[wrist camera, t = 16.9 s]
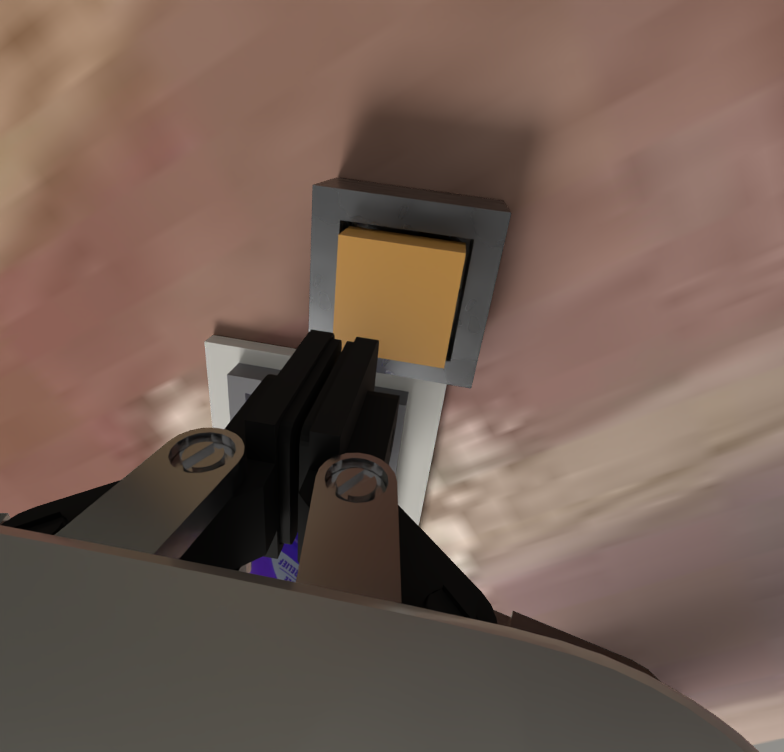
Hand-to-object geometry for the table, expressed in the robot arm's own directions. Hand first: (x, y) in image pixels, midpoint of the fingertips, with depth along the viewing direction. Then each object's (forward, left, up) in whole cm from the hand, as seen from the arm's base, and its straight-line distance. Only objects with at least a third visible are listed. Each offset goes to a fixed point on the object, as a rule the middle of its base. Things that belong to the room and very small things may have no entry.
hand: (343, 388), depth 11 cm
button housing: (0, +1, -14) cm, 13 cm away
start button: (0, +1, -10) cm, 10 cm away
